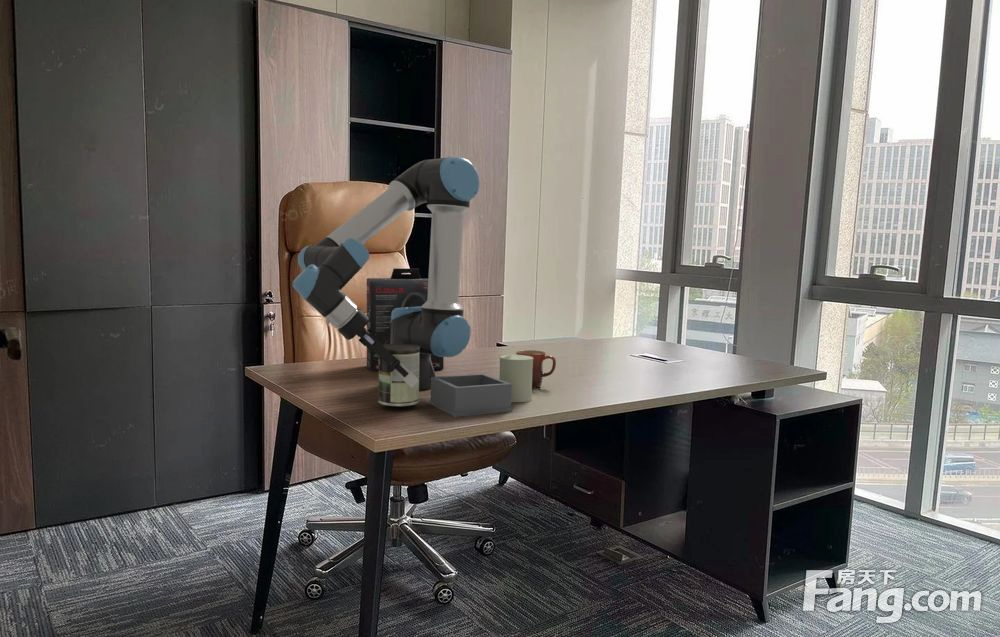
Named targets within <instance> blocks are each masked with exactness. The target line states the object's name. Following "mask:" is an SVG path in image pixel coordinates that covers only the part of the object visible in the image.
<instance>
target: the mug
mask: <svg viewBox="0 0 1000 637" xmlns="http://www.w3.org/2000/svg"><path fill="white" fill-rule="evenodd" d="M515 355H526V356H531V357H533V369H532V389H537V388H540V387H541V386H542V383H543V379H544V378H545V377H549V376H551V375H552V374H553V373H554V371H555V370H556V367H557V360H556V358H555V357H554V356H553V355H547V353H546V352H545V351H542V350H536V349H535V350H531V349H523V350H517V351H516V352H515ZM549 359H551V360H552V366H551V370H550V371H548V372H544V368H543V367H544V366H543V365H544V361H545V360H549Z"/></svg>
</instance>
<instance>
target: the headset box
mask: <svg viewBox="0 0 1000 637" xmlns="http://www.w3.org/2000/svg"><path fill="white" fill-rule="evenodd" d="M427 296H428V278H421V274H420V270H419V268H399V267H398V268H395V267H394V268H393V269H392V272H391V275H390V277H385V278H383V277H378V278H377V277H373V278H369V277H368V278H366V315H367V316H368V317H369V322H368V323H367V325H366V330H367V331H368V330H369V329H370V330H372V331H373V332H374V333H375V334H376V337H377V338H378V339H379V340H380V341H381V342H382V345H386V344H391V323H390V321H391V313H392V311H393V310H394V309H395V308H404V307H421V306H422V305H423V304H424V303H425V302H426V301H427ZM444 358H445V357H438V356H435V355H432V354H431V362H432V366H433V369H434V370H444V362H445V361H444ZM366 366H368V367H367V368H368V370H369V371H370V372H372V371H373V372H379V355H378V354H376V353H375V352H372V351H370V350H369V349H368V348H367V347H366Z"/></svg>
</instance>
